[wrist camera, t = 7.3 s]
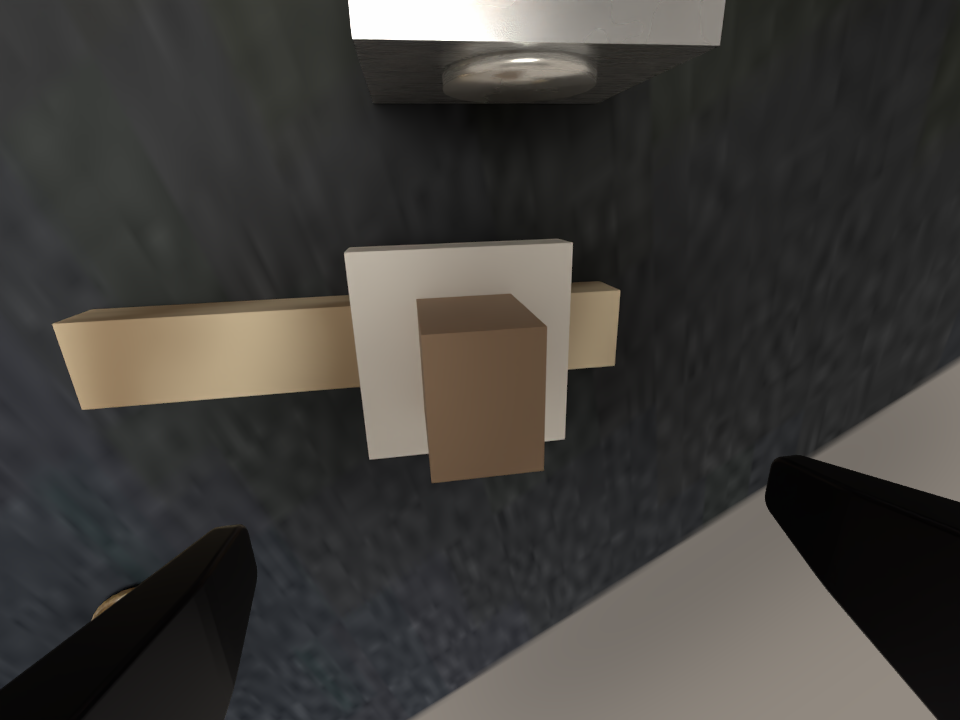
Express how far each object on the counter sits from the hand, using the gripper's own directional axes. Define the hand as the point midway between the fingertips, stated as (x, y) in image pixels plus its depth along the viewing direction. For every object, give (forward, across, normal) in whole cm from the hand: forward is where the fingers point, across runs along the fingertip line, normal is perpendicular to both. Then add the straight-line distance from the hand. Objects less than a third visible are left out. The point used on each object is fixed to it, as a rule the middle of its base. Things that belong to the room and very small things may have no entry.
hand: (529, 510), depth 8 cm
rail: (+12, +3, 0) cm, 12 cm away
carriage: (+12, 0, 0) cm, 12 cm away
